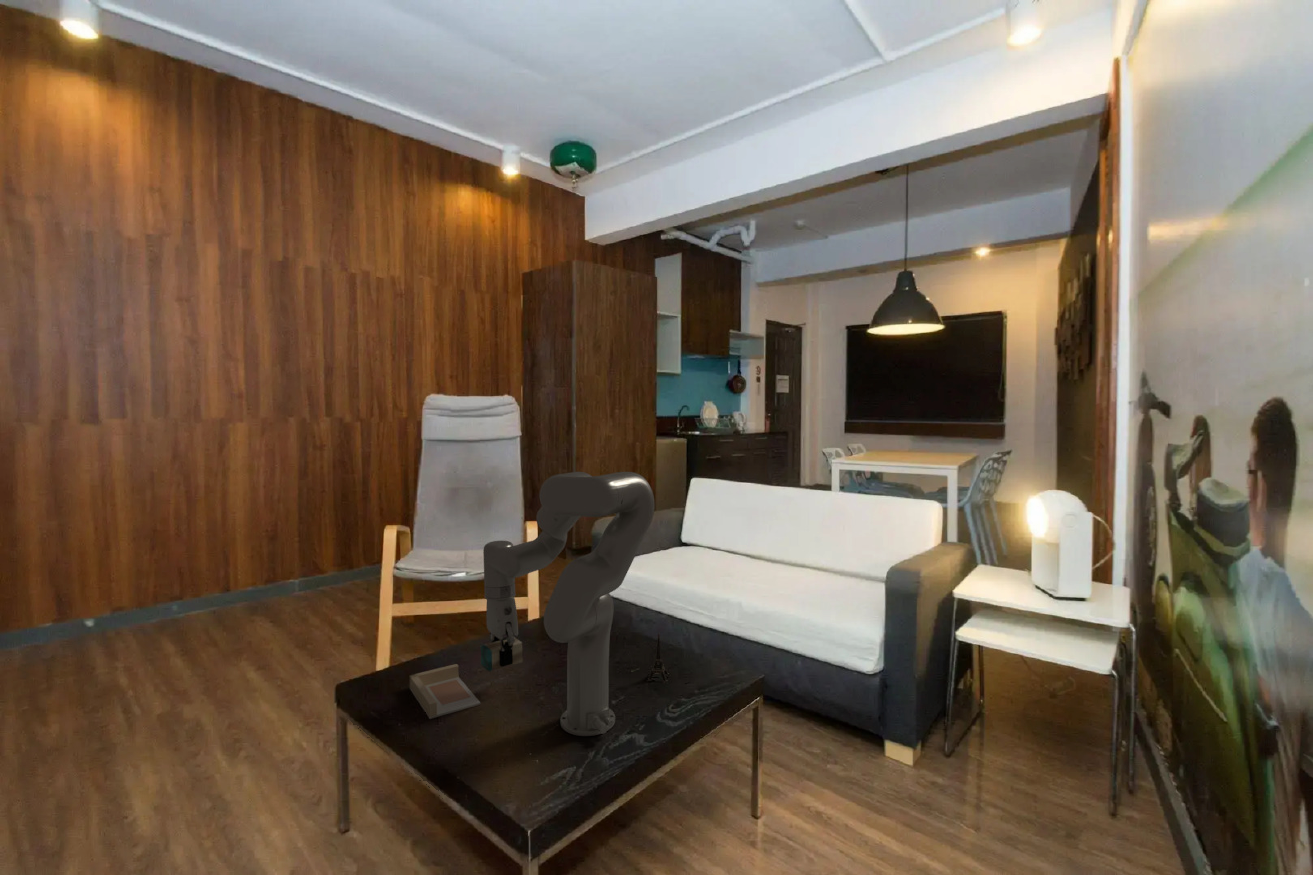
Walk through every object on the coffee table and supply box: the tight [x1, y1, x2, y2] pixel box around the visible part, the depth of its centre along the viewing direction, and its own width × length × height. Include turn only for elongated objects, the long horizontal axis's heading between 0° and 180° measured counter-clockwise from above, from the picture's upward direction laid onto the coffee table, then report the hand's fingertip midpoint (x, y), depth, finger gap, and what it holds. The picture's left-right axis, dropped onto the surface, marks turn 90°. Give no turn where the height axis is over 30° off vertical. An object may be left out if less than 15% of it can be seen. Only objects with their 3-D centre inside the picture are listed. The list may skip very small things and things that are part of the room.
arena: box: [409, 663, 481, 720], centre depth 152 cm, size 18×12×4 cm, turn 36°
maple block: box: [480, 636, 524, 672], centre depth 155 cm, size 5×9×5 cm, turn 126°
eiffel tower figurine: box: [630, 633, 669, 683], centre depth 164 cm, size 15×10×13 cm
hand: (501, 660), depth 155 cm, fingers closed on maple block, 5 cm apart
